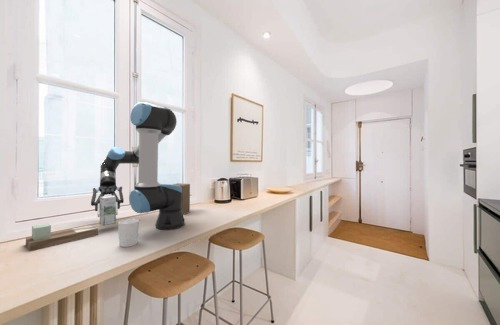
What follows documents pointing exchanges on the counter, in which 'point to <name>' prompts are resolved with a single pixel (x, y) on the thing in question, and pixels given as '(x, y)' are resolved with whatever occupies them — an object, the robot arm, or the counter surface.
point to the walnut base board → (62, 237)
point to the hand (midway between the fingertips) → (107, 214)
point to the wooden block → (185, 197)
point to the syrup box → (107, 210)
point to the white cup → (128, 232)
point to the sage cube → (41, 231)
